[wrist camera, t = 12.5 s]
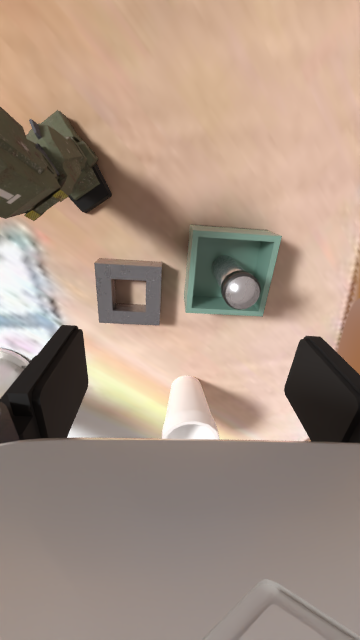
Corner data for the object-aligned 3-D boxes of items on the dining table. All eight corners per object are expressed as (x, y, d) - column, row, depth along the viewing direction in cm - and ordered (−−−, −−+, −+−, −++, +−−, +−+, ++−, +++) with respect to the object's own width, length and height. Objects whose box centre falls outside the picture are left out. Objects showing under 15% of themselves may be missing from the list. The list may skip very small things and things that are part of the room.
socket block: (160, 317, 46) (159, 325, 43) (103, 314, 45) (99, 322, 43) (162, 262, 42) (161, 267, 39) (99, 258, 41) (94, 263, 38)
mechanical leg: (132, 214, 37) (-106, 90, 9) (92, 240, 39) (-226, 207, 10) (79, 121, 35) (-512, -505, 6) (39, 152, 36) (-594, -234, 7)
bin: (251, 301, 45) (262, 316, 40) (183, 297, 45) (185, 312, 39) (266, 230, 40) (281, 236, 35) (189, 224, 39) (193, 230, 34)
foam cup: (196, 362, 51) (204, 413, 39) (216, 393, 55) (228, 448, 43) (155, 381, 53) (151, 435, 41) (176, 409, 56) (178, 466, 45)
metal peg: (221, 286, 43) (238, 318, 32) (204, 266, 41) (216, 292, 31) (243, 269, 42) (269, 295, 31) (227, 247, 40) (248, 267, 29)
